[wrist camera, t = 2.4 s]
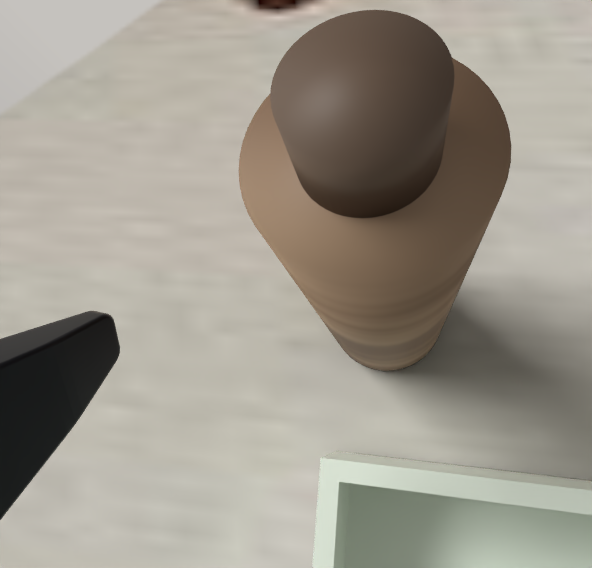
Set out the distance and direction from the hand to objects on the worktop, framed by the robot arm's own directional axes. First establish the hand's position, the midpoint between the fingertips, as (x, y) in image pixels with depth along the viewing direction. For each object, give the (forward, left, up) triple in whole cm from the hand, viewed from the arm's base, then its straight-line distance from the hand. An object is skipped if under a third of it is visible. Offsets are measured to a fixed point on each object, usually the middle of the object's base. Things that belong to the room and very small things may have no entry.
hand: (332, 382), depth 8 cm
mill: (+4, -1, -11) cm, 11 cm away
